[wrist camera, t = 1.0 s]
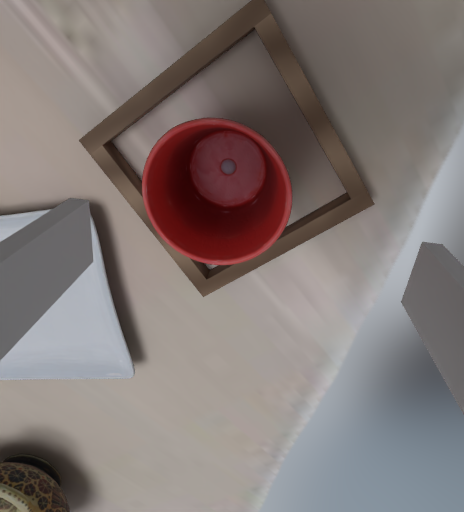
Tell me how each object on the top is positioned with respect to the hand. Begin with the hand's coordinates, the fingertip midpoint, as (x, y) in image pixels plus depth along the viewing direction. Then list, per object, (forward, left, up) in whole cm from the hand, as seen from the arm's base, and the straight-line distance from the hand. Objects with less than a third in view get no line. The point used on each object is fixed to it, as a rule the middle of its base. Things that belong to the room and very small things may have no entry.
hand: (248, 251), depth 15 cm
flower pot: (0, -3, -22) cm, 22 cm away
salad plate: (0, -30, -22) cm, 38 cm away
